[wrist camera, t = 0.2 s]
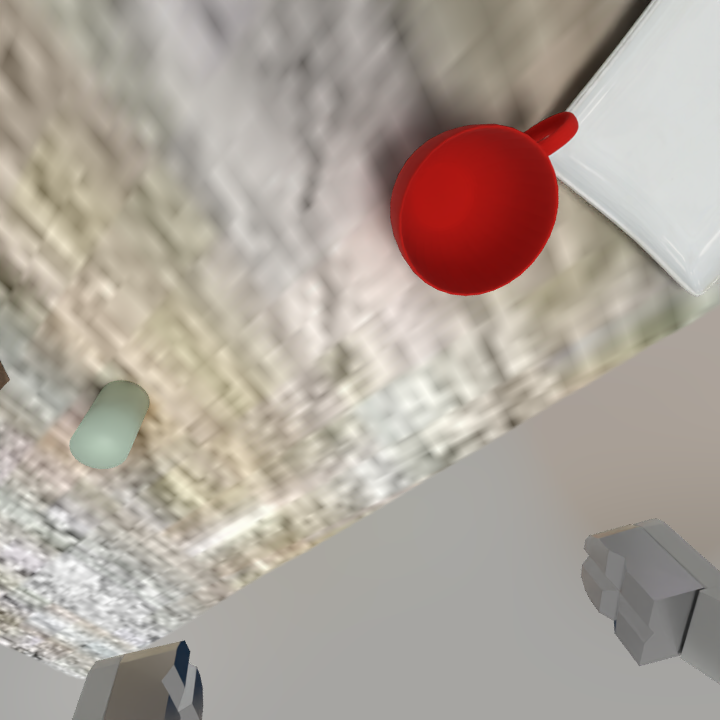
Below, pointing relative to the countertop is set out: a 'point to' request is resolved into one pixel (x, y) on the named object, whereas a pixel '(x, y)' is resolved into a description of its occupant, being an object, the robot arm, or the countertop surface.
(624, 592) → the robot arm
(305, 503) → the countertop surface
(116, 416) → the sage capsule
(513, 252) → the ceramic cup
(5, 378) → the walnut base
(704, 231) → the square plate
